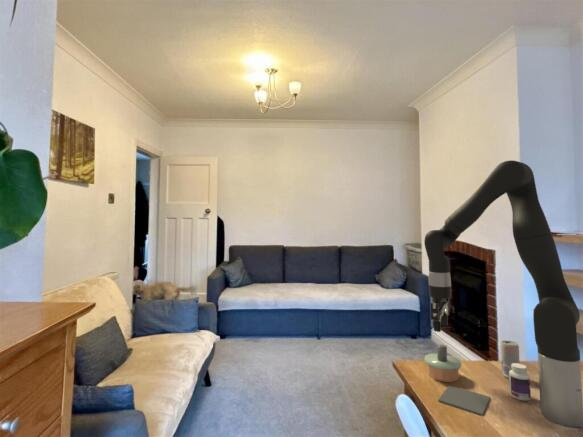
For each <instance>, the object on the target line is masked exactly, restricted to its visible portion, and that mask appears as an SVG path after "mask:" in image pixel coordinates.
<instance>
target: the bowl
mask: <svg viewBox="0 0 583 437" xmlns="http://www.w3.org/2000/svg"><path fill="white" fill-rule="evenodd" d="M426 364H427V363H426ZM426 367H427V374H428V376H429V377H430V378H431V377H432V378H431V379H433V378H434V380H435V379H436V381H438V380H439V382H442V381H443V382H442V383H455V382H457V381H459V375H460V374H459V373H460V372H459V369H456V370H442V369H438V368H434V367H432V366H430V365H428V364H427V366H426ZM454 381H455V382H454Z"/></svg>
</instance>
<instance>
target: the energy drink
mask: <svg viewBox="0 0 583 437" xmlns="http://www.w3.org/2000/svg"><path fill="white" fill-rule="evenodd" d="M500 354H501V355H500V356H501V358H500V359H501V375H502V376H503V377H504V378H506V379H508V380H509V371H510V370H512V369H511V364H512V363H518V364H521V361H520V347H519V344H518V343H517V342H516V341H512V340H501V343H500Z"/></svg>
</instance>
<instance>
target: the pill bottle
mask: <svg viewBox="0 0 583 437" xmlns="http://www.w3.org/2000/svg"><path fill="white" fill-rule="evenodd" d="M511 369H512V370H510V371H509V379H508V380H509V381H508V382H509V394H510V396H511V397H513V398H514V399H515V400H519V401H522V402H523V401H525V402H526V401H530V400H531V398H532V393H531V376H530V374H529V373H527V372H528V368H527V365H525V364H522V363H520V364H518V363H512V364H511Z"/></svg>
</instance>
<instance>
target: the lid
mask: <svg viewBox="0 0 583 437" xmlns="http://www.w3.org/2000/svg"><path fill="white" fill-rule="evenodd" d="M447 347H448V346H447V345H444V344H437V345H436V351H437V352H436V353H429V354H427V355H425V356H424V363H426V364H428V365H430V366H432V367H434V368H438V369H442V370H456V369H458V370H459V369H460V368H461V367H462V361H461V360H460V359H459V358H457V357H455V356H452V355H449V354H448V348H447Z"/></svg>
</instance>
